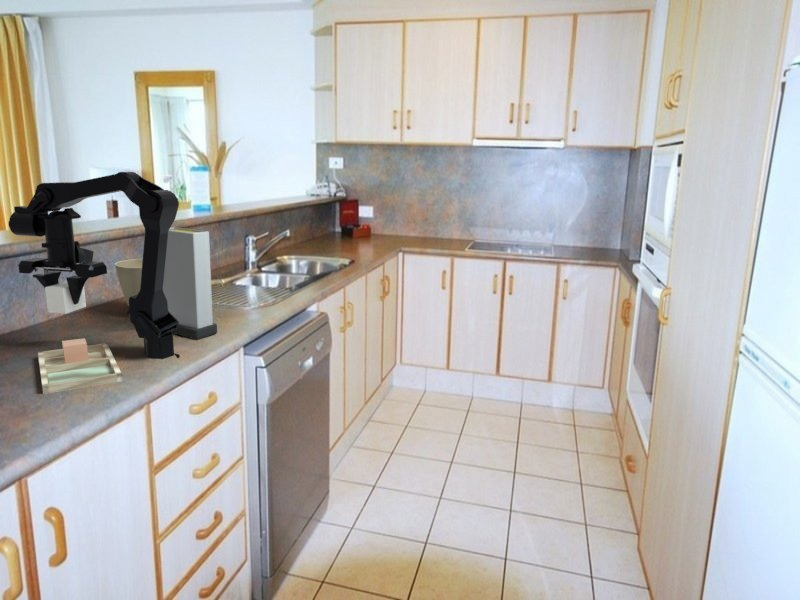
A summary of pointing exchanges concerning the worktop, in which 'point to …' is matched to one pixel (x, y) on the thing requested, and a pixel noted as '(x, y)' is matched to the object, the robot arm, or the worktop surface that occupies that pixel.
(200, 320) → the container
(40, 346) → the worktop surface
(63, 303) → the block
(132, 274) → the plant pot
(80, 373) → the slot cradle
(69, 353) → the terracotta block
